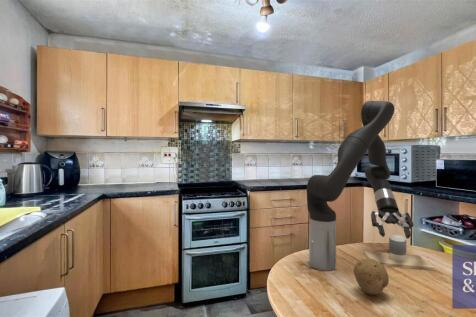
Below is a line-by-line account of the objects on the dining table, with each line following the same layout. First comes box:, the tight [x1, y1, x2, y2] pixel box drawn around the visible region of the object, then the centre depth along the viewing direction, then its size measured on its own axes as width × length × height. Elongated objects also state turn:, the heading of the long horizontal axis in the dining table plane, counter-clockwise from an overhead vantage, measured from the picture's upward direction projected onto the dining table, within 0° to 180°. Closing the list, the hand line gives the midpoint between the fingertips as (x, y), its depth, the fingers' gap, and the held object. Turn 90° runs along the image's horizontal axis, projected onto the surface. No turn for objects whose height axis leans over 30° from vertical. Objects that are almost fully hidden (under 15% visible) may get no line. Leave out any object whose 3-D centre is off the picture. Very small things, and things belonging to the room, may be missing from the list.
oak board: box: [363, 250, 436, 271], centre depth 94 cm, size 20×11×1 cm, turn 76°
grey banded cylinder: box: [388, 233, 407, 262], centre depth 94 cm, size 6×6×9 cm
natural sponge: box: [353, 257, 390, 296], centre depth 72 cm, size 9×9×10 cm
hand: (395, 236), depth 95 cm, fingers open, 8 cm apart
